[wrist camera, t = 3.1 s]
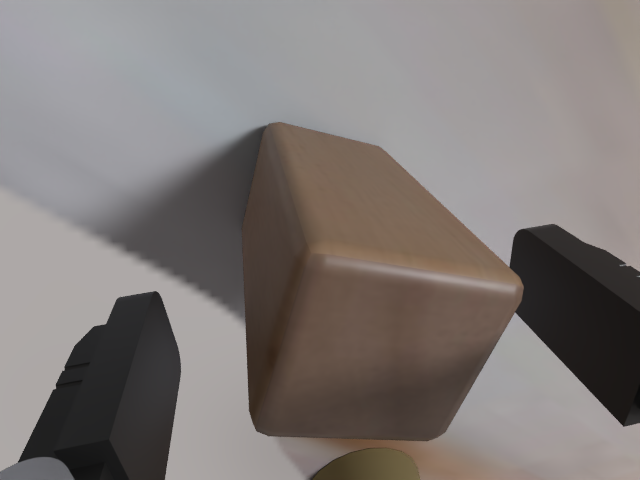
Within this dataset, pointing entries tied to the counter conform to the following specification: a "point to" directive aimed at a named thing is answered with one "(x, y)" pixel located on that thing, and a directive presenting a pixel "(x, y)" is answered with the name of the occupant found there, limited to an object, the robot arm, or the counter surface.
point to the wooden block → (361, 294)
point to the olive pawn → (371, 466)
